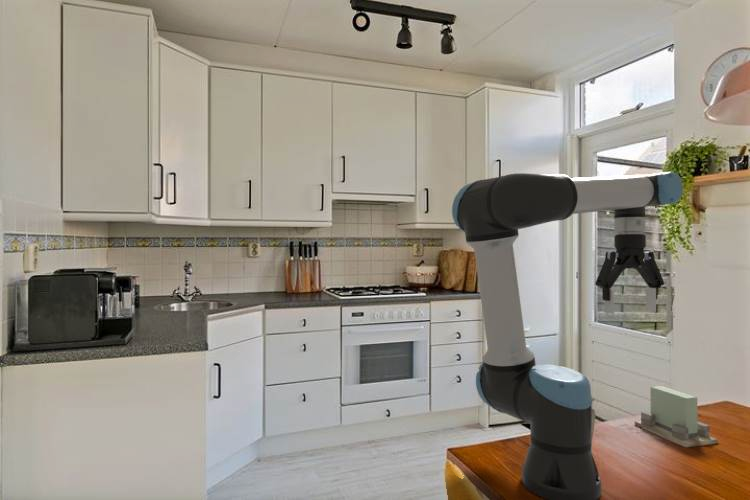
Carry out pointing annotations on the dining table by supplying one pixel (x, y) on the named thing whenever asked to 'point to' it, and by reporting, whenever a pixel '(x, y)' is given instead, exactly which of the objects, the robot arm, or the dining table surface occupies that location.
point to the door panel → (674, 409)
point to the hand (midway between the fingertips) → (630, 312)
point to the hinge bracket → (677, 432)
